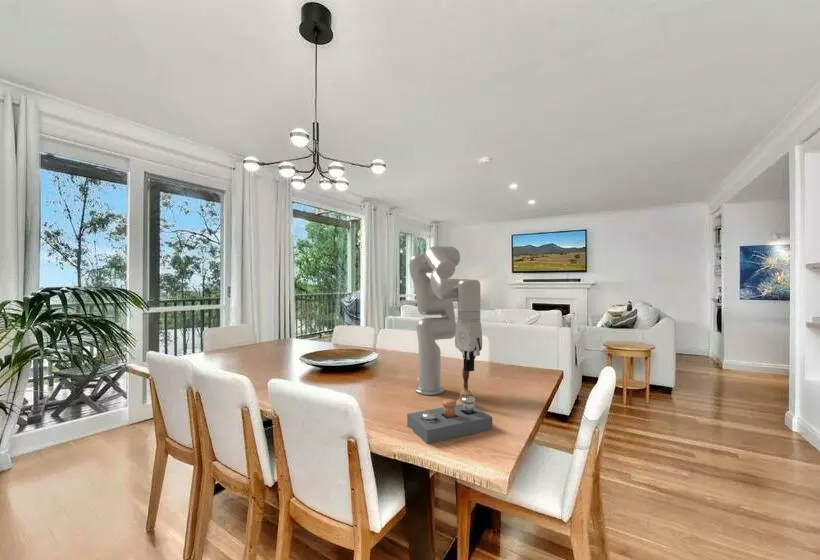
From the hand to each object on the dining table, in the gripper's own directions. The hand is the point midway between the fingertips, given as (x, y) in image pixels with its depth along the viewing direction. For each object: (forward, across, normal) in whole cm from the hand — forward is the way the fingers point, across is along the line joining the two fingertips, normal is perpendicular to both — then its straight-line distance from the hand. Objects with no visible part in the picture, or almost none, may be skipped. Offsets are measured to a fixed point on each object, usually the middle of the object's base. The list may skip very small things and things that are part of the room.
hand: (468, 370), depth 120 cm
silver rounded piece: (+14, 0, 0) cm, 14 cm away
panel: (+18, 0, -8) cm, 19 cm away
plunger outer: (+17, 0, -15) cm, 23 cm away
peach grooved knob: (+14, 0, -7) cm, 16 cm away
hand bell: (+18, -14, +8) cm, 25 cm away
